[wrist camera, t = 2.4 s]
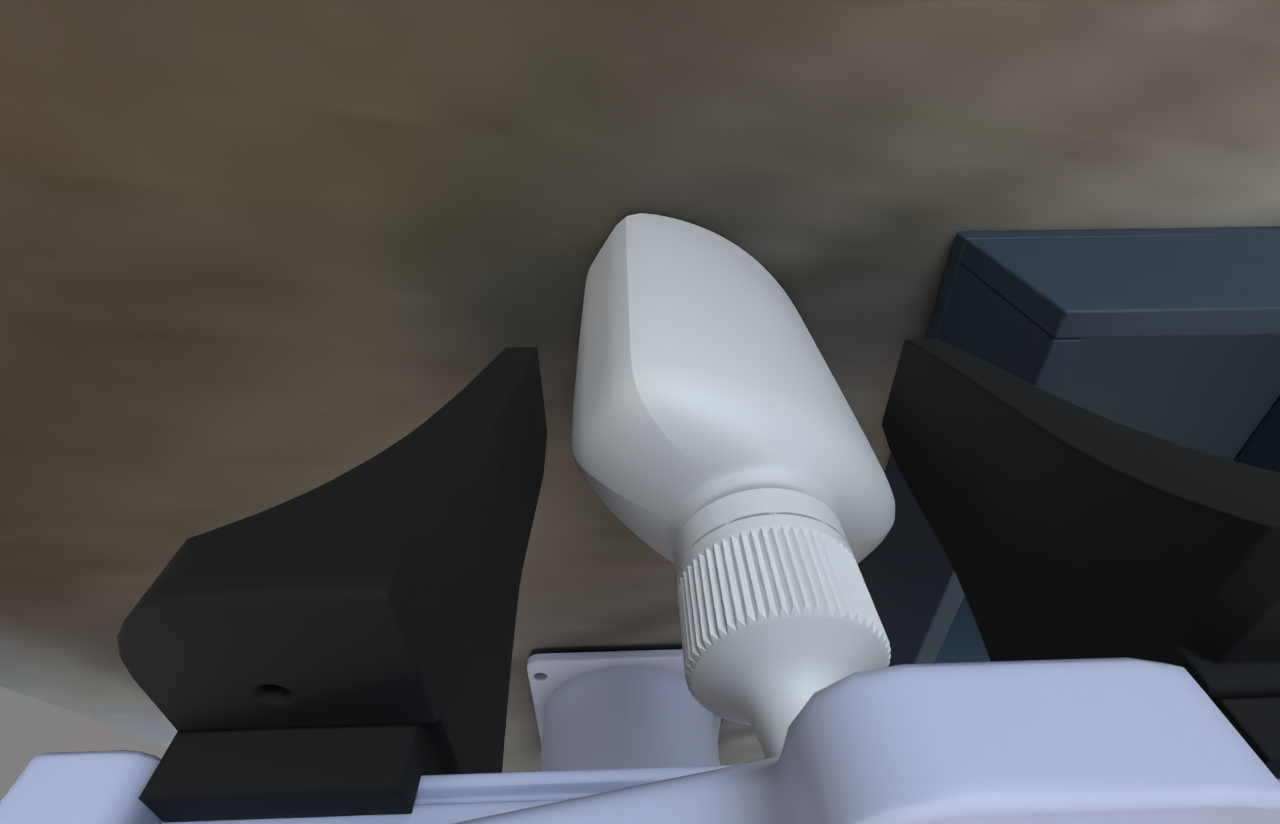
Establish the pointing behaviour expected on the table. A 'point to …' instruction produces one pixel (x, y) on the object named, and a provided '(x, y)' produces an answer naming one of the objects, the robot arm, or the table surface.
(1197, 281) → the bin
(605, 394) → the eye dropper bottle
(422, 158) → the table surface
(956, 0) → the table surface
